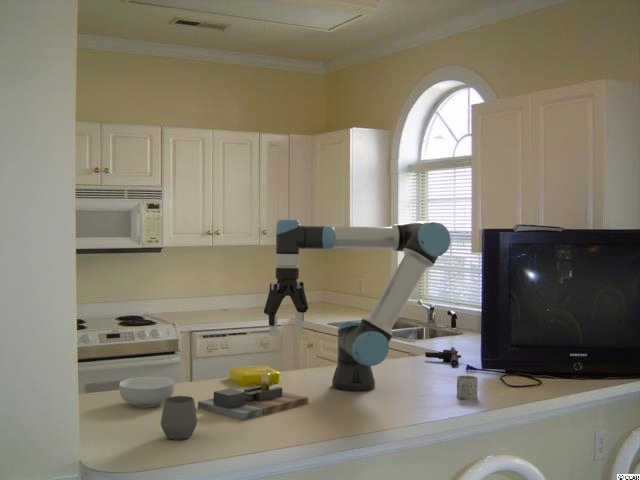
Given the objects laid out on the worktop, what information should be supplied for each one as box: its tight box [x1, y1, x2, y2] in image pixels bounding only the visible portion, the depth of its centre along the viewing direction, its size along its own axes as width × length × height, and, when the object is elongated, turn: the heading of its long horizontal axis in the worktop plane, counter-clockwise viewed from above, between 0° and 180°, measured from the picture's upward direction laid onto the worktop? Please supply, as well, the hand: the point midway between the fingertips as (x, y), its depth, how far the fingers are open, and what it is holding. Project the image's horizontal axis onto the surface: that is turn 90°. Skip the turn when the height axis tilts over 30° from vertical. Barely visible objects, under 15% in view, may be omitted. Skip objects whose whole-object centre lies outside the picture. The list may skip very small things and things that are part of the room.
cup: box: [160, 395, 198, 441], centre depth 187 cm, size 10×9×10 cm
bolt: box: [245, 373, 271, 401], centre depth 223 cm, size 10×3×7 cm, turn 139°
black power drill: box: [424, 346, 462, 368], centre depth 303 cm, size 5×20×15 cm
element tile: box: [229, 364, 280, 387], centre depth 259 cm, size 15×15×5 cm
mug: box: [456, 374, 478, 400], centre depth 237 cm, size 10×7×7 cm, turn 145°
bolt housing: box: [213, 385, 283, 409], centre depth 220 cm, size 22×7×4 cm, turn 139°
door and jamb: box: [197, 391, 309, 421], centre depth 221 cm, size 28×20×2 cm
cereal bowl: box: [118, 376, 175, 408], centre depth 221 cm, size 17×17×7 cm
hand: (286, 334), depth 232 cm, fingers open, 11 cm apart
